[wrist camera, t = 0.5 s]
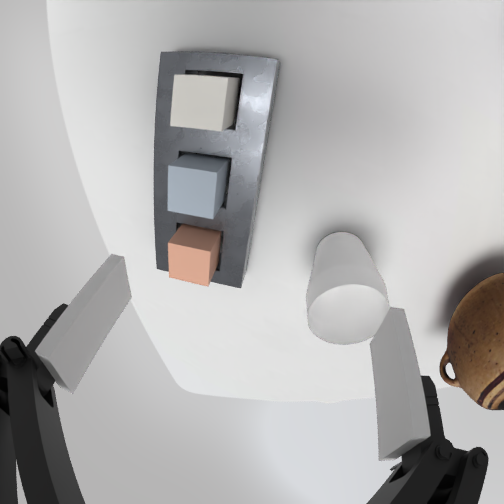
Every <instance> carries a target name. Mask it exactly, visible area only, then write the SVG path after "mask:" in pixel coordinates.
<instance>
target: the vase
mask: <svg viewBox="0 0 504 504" xmlns="http://www.w3.org/2000/svg"><path fill="white" fill-rule="evenodd" d="M447 363H451V364H452V367H453V370H454V373H455V379H451V378H450V377H449V376H448V375H447V373H446V369H445V367H446V365H447ZM440 375H441V377H442V379H443V380H444V381H445V382H446V383H448V384H449V385H451V386H455V387H460V388H462V389H463V390H464V391H465V392H466V393H467V394H468V395H469V396H470V398H472V399H473V400H474V401H475V402H476V403H477V404H478V405H480V406H482V407H484V408H486V409H489V410H504V273H499V274H496V275H493V276H491V277H489V278H487V279H485V280H483V281H481V282H480V283H478V284H477V285H476V286H475V287H474V288H473V289H471V290H470V291H469V292H468V293H467V294H466V295H465V296H464V298H463V299H462V300H461V301H460V303H459V304H458V306H457V308H456V310H455V312H454V314H453V316H452V318H451V321H450V324H449V329H448V337H447V350H446V352H445V354H444V355H443V357H442V359H441V362H440Z"/></svg>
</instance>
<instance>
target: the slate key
mask: <svg viewBox="0 0 504 504" xmlns="http://www.w3.org/2000/svg"><path fill="white" fill-rule="evenodd" d="M228 168H229V159H228V158H221V157H215V156H208V155H201V154H193V153H185V154H184V155H182V156H181V157H179V158H178V159H177V160H175V161H174V162H172V163H171V164H170V165H168V211H172V212H177V213H183V214H188V215H193V216H199V217H204V218H209V219H213V218H214V217H215V215H216V214H217V212H218V210H219V209H220V207H221V205H222V204H223V202H224V201H225V195H226V186H227V177H228Z"/></svg>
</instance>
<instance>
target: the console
mask: <svg viewBox="0 0 504 504" xmlns="http://www.w3.org/2000/svg"><path fill="white" fill-rule="evenodd" d="M279 67H280V61H279V60H278V59H272V58H265V57H257V56H249V55H239V54H227V53H211V52H161V56H160V65H159V75H158V87H157V100H156V116H155V138H154V224H155V247H156V264H157V269H160V270H164V271H168V272H169V262H168V242H169V241H170V239H171V238H172V237H173V235H174V234H175V233H176V231H177V230H178V229H179V227H180V226H181V225H182V223H183V224H188V225H193V226H198V227H203V228H208V229H213V230H218V231H223V232H224V235H223V245H222V253H220V255H219V263H218V265H217V268H216V270H215V272H214V275H213V277H212V279H211V281H210V282H215V283H219V284H224V285H228V286H233V287H237V288H241V287H242V283H243V280H244V277H245V273H246V269H247V263H248V257H249V251H250V245H251V238H252V232H253V226H254V220H255V214H256V207H257V201H258V195H259V189H260V183H261V177H262V170H263V164H264V158H265V152H266V146H267V140H268V134H269V128H270V121H271V115H272V109H273V103H274V97H275V91H276V85H277V79H278V73H279ZM198 70H203V71H218V72H229V73H239V74H243V79H242V86H241V93H240V101H239V108H238V115H237V123H236V124H232V125H231V126H229V127H228V128H226V129H225V130H223V131H222V132H221V131H213V130H205V129H196V128H186V127H176V126H170V121H171V107H172V94H173V83H174V75H183V74H195V75H198ZM190 152H194V153H202V154H209V155H216V156H222V157H229V158H232V163H231V171H230V180H229V189H228V194H226V195H225V201H224V202H223V204H222V205H221V207H220V209H219V210H218V212H217V214H216V215H215V217H214V218H213V219H209V218H204V217H199V216H193V215H188V214H183V213H177V212H172V211H168V165H170V164H171V163H172V162H174V161H175V160H177V159H178V158H179V157H181V156H182V155H184V154H185V153H190Z"/></svg>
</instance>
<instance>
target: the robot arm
mask: <svg viewBox="0 0 504 504" xmlns="http://www.w3.org/2000/svg"><path fill="white" fill-rule="evenodd" d="M131 298H132V296H131V291H130V286H129V281H128V276H127V271H126V265H125V260H124V257H122V256H118V255H114V254H111V255H110V256H109V258H108V259H107V260H106V261H105V262H104V263H103V265H102V266H101V267H100V268H99V269H98V270H97V272H96V273H95V274H94V275H93V276H92V277H91V279H90V280H89V281H88V282H87V283H86V285H85V286H84V287H83V288H82V289H81V291H80V292H79V293H78V294H77V296H76V297H75V298H74V299H73V301H72V302H71V303H70V304H69V305H66V304H62V305H60V306H59V307H58V308H56V309H55V310H54V311H53V312H52V313H51V315H50V316H49V318H48V319H47V320H46V321H45V322H44V325H42V326H41V328H40V329H39V331H38V332H37V333H36V335H35V336H34V337H33V339H32V340H31V341H30V343H29V344H28V345H27V347H25V345H24V343H23V341H22V340H21V339H20V338H19V337H17V336H10V337H8V338H6V339H5V340H4V341H3V342H2V343H1V345H0V504H18V498H17V481H16V460H17V465H18V470H19V474H20V478H21V482H22V486H23V490H24V493H25V497H26V500H27V504H85V502H84V499H83V497H82V494H81V491H80V489H79V486H78V483H77V480H76V477H75V474H74V471H73V467H72V464H71V461H70V458H69V454H68V450H67V447H66V443H65V439H64V435H63V431H62V426H61V422H60V417H59V412H58V407H57V402H56V397H55V390H54V387H53V384H54V382H55V381H56V383H57V384H58V385H59V387H60V388H62V389H64V390H66V391H68V392H70V393H72V394H73V393H74V391H75V389H76V388H77V386H78V384H79V382H80V380H81V379H82V377H83V375H84V373H85V372H86V370H87V368H88V367H89V365H90V363H91V361H92V360H93V358H94V356H95V355H96V353H97V351H98V350H99V348H100V346H101V345H102V343H103V342H104V340H105V338H106V337H107V335H108V333H109V332H110V330H111V329H112V327H113V325H114V324H115V322H116V321H117V319H118V318H119V316H120V314H121V313H122V311H123V310H124V308H125V307H126V305H127V304H128V302H129V301H130V299H131ZM370 348H371V357H372V365H373V374H374V384H375V395H376V408H377V423H378V447H379V461H385V460H395V459H397V458H398V457H400V456H402V462H400V463H399V464H397V465H395V466H393V467H392V468H391V469H390V470H391V471H392V470H394V469H395V470H394V471H393V473H392V474H391V475H390V476H389V478H388V479H387V480H386V482H385V483H384V484H383V485H382V486H381V488H380V489H379V490H378V491H377V492H376V494H375V495H374V496H373V497H372V498H371V499H370V500H369V502H368V503H367V504H478V501H479V498H480V494H481V491H482V487H483V483H484V479H485V475H486V471H487V466H488V455H487V453H486V451H485V450H484V449H483V448H481V447H476V448H473V449H472V450H470V451H464V450H461V449H456V448H454V447H453V445H452V443H451V442H450V441H449V440H447V439H445V436H444V431H443V425H442V419H441V414H440V408H439V406H438V405H439V402H438V398H437V393H436V388H435V385H434V383H433V381H432V380H431V378H430V376H421V375H420V370H419V366H418V361H417V357H416V353H415V349H414V345H413V341H412V337H411V333H410V329H409V325H408V322H407V318H406V315H405V311H404V309H400V308H393V307H390V309H389V311H388V313H387V314H386V316H385V318H384V320H383V322H382V324H381V325H380V327H379V329H378V331H377V332H376V334H375V336H374V338H373V339H372V341H371V343H370Z"/></svg>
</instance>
